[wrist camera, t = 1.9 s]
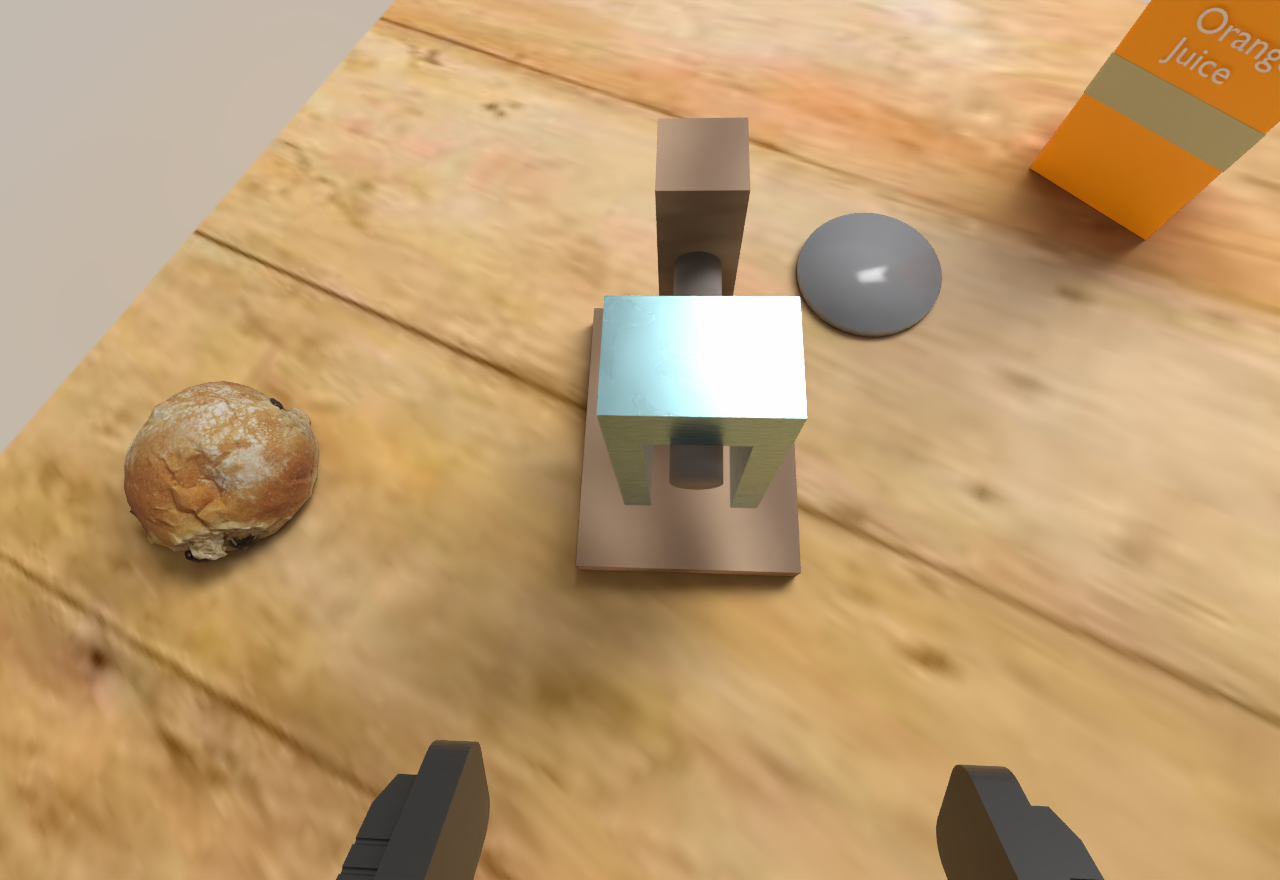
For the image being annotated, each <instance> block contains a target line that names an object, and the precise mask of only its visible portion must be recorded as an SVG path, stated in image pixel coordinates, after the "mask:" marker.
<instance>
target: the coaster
mask: <svg viewBox="0 0 1280 880" xmlns="http://www.w3.org/2000/svg"><path fill="white" fill-rule="evenodd" d="M797 281H798V285H799V289H800V292H801V294H802V296H803V298H804V300H805V301H806V303H807V304H808V306H809V307H810V308H811V309H812V311H813V312H814V313H815V314H816V315H818V316H819V317H820V318H821V319H822V320H824V321H825V322H826V323H828V324H830V325H831V326H833V327H835V328H837V329H840V330H842V331H844V332H848V333H851V334H855V335H861V336H872V337H874V336H886V335H892V334H895V333H899V332H901V331H904V330H906V329H908V328H910V327H912V326H913V325H915V324H916V323H918V322H919V321H920V320H921V319H922V318H923V317H924V316H925V315H926V314H927V313H928V311H929V310H930V309H931V307H932V306H933V304H934V303H935V301H936V299H937V297H938V295H939V292H940V288H941V281H942V274H941V267H940V263H939V260H938V258H937V255H936V253H935V251H934V250H933V248H932V246H931V245H930V244H929V243H928V241H927V240H926V239H925V238H924V237H923V236H922V235H921V234H920V233H919V232H917V231H916V230H915V229H913V228H912V227H910V226H909V225H907V224H905V223H903V222H901V221H899V220H897V219H894V218H891V217H888V216H884V215H879V214H873V213H855V214H849V215H844V216H840V217H837V218H835V219H832V220H830V221H828V222H826V223H825V224H823V225H821V226H820V227H819V228H818V229H816V230H815V231H814V232H813V233H812V234H811V235H810V237H809V238H808V239H807V241H806V242H805V244H804V246H803V248H802V251H801V254H800V257H799V260H798V265H797Z"/></svg>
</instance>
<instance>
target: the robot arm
mask: <svg viewBox="0 0 1280 880" xmlns="http://www.w3.org/2000/svg"><path fill="white" fill-rule="evenodd" d="M489 808H490V801H489V792H488V787H487V781H486V775H485V770H484V764H483V759H482V753H481V748H480V745H479V743H478V742H469V741H446V740H435V741H434V742H433V743H432V744H431V745H430V747H429V749H428V751H427V753H426V755H425V758H424V760H423V762H422V765H421V767H420V769H419V772H418V774H417V775H409V774H398V775H397V776H396V777H395V778H394V779H393V780H392V781H391V782H390V784H389V785H388V786H387V787H386V788H385V789H384V790H383V791H382V793H381V794H380V795H379V796H378V797H377V798H376V799H375V800H374V801H373V803H372V804H371V807H370V809H369V811H368V813H367V815H366V817H365V819H364V821H363V824H362V826H361V828H360V830H359V832H358V834H357V836H356V842H355V844H353V845H352V847H351V849H350V851H349V853H348V855H347V858H346V860H345V862H344V864H343V866H342V872H341V874H339V875H338V877H337V879H336V880H473V879H474V875H475V872H476V868H477V865H478V861H479V857H480V854H481V850H482V847H483V843H484V840H485V836H486V831H487V826H488V819H489ZM936 836H937V845H938V850H939V855H940V859H941V862H942V865H943V868H944V871H945V873H946V876H947V879H948V880H1104V878H1103V877H1102V875H1101V873H1100V872H1099V870H1098V868H1097V866H1096V865H1095V863H1094V861H1093V860H1092V858H1091V856H1090V854H1089V853H1088V851H1087V849H1086V848H1085V846H1084V844H1083V842H1082V841H1081V840H1080V839H1079V838H1078V837H1077V836H1076V834H1075V833H1074V832H1073V831H1072V830H1071V829H1070V828H1069V827H1068V826H1067V825H1066V824H1065V823H1064V822H1063V821H1062V820H1061V819H1060V818H1059V817H1058V816H1057V815H1056V814H1055V813H1054V812H1053V811H1052V810H1051V809H1050V808H1049V807H1045V806H1031V805H1030V803H1029V801H1028V799H1027V797H1026V796H1025V794H1024V792H1023V790H1022V788H1021V786H1020V784H1019V783H1018V781H1017V779H1016V777H1015V776H1014V775H1013V773H1012V772H1011V771H1010V770H1009V769H1007V768H1006V767H999V766H976V765H956V766H955V767H954V768H953V770H952V773H951V777H950V780H949V783H948V786H947V790H946V793H945V796H944V799H943V803H942V806H941V809H940V812H939V816H938V819H937V825H936Z"/></svg>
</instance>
